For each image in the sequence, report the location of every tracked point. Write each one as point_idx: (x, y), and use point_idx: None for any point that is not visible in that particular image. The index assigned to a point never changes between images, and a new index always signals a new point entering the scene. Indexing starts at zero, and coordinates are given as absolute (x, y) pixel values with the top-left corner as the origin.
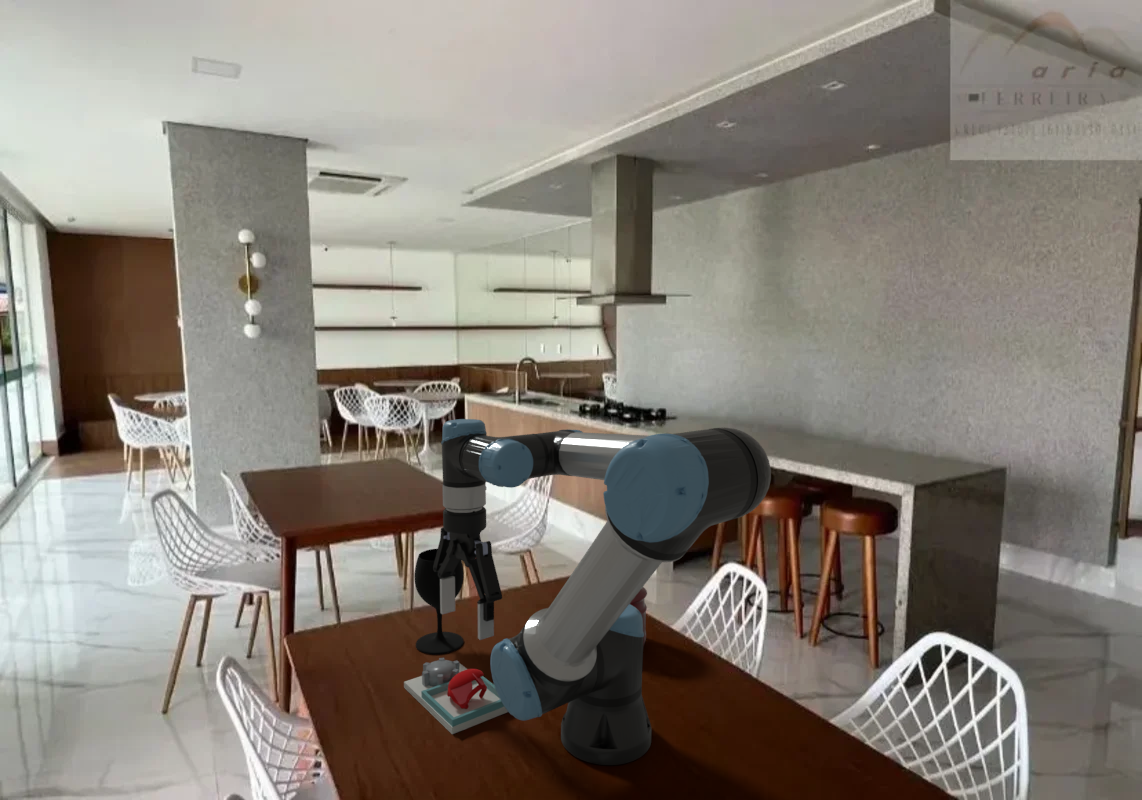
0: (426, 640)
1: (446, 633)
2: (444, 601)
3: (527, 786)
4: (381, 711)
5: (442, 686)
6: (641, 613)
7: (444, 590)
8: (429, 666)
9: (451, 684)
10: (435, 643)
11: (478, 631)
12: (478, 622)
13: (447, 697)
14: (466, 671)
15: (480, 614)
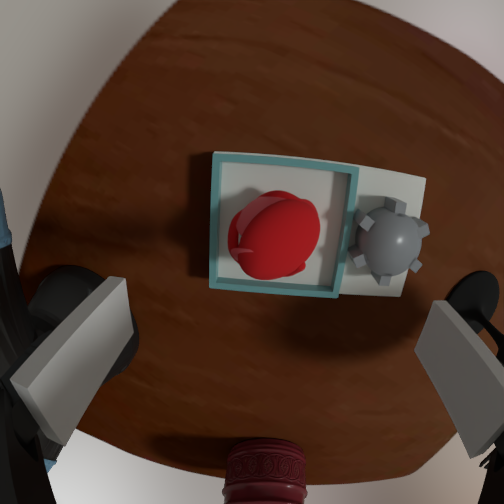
0: (488, 294)
1: (476, 329)
2: (454, 341)
3: (55, 181)
4: (378, 97)
5: (346, 213)
6: (223, 495)
7: (480, 376)
8: (412, 228)
9: (289, 204)
10: (473, 300)
11: (105, 292)
12: (82, 313)
13: (317, 205)
14: (273, 246)
15: (49, 340)
